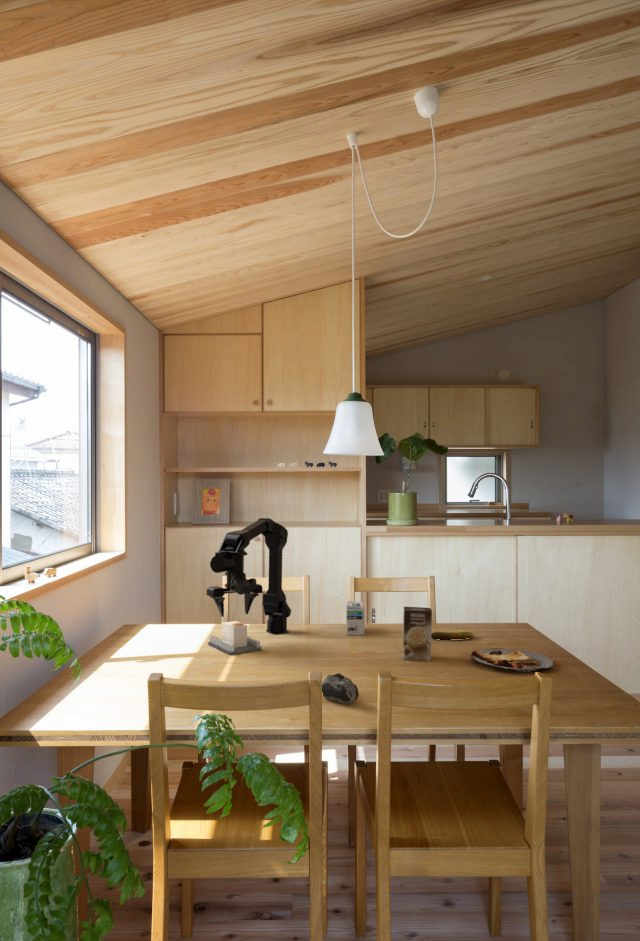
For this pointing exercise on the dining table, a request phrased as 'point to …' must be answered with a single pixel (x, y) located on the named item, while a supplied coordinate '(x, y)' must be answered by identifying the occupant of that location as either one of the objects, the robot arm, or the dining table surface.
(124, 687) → the dining table surface
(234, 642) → the module block
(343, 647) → the dining table surface
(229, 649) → the rail plate
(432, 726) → the dining table surface
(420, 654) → the coffee box
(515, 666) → the food plate
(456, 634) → the green pickle
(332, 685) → the dark grey rounded lump
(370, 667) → the dining table surface
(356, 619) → the light bulb box
